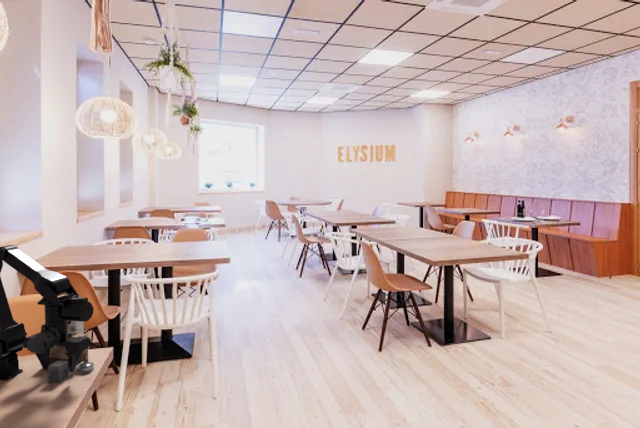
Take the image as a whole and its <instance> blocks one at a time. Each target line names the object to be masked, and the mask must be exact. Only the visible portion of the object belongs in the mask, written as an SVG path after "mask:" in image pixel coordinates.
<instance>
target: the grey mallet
mask: <svg viewBox="0 0 640 428" xmlns="http://www.w3.org/2000/svg"><path fill="white" fill-rule="evenodd" d="M82 363H84V361H78V363H77V365H76V367H75V370H74V371H73V372H72V373H71V372H70V369H69V362H68V361H56V362H55V363H53V364H51V365H50V366H48V368H47V369H48V382H49V383H51V384H60V383H62V382H63V381H65V380H66V379H68V378H69V376H71V375H72V374H73V373H74V372H76V371H78V370H79V365H80V364H82Z"/></svg>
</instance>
